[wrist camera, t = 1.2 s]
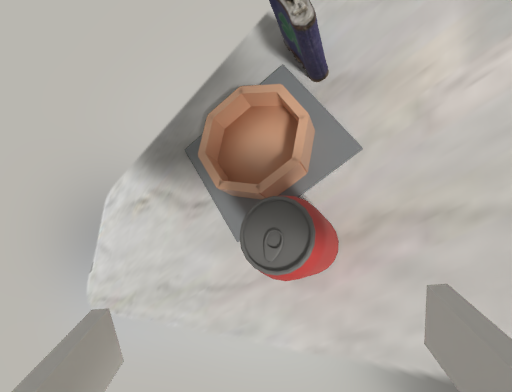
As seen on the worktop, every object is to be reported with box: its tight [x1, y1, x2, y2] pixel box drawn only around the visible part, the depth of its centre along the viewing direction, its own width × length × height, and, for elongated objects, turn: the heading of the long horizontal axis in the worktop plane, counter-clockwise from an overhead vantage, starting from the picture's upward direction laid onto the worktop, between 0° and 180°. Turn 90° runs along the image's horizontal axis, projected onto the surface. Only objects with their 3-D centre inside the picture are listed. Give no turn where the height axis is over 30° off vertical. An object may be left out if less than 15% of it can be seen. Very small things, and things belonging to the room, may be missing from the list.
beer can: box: [240, 196, 339, 281], centre depth 24 cm, size 7×7×12 cm
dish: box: [198, 84, 315, 200], centre depth 32 cm, size 13×13×4 cm
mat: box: [185, 65, 363, 242], centre depth 34 cm, size 18×16×1 cm
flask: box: [269, 0, 329, 82], centre depth 30 cm, size 9×3×11 cm, turn 26°
